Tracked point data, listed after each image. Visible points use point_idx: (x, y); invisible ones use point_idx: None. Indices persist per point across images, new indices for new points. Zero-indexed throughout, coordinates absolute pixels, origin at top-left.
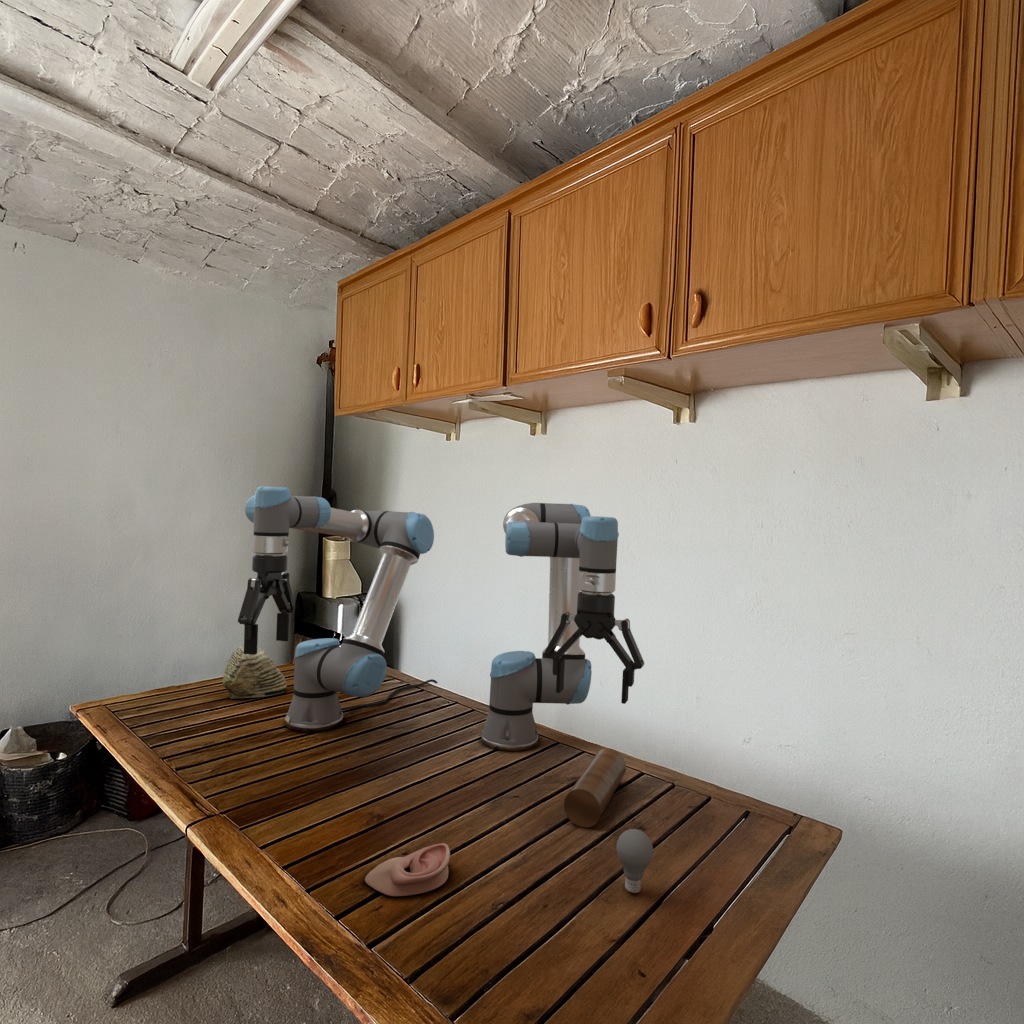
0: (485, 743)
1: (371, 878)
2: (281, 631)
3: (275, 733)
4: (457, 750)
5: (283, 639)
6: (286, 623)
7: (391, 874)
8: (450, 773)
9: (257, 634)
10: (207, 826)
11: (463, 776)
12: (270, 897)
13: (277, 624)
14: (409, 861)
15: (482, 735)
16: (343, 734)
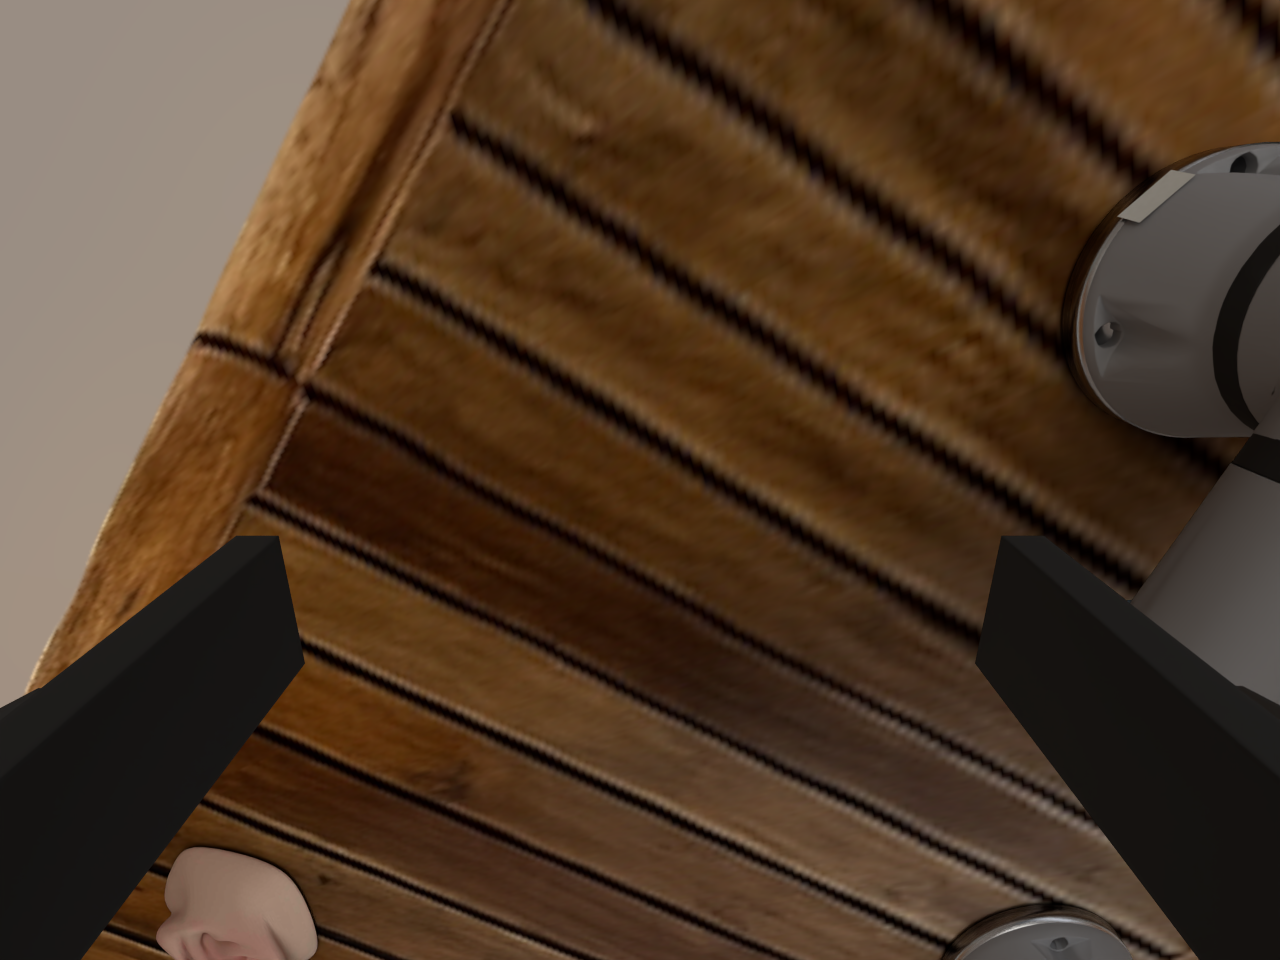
0: (981, 926)
1: (180, 869)
2: (1060, 673)
3: (1043, 177)
4: (930, 862)
5: (991, 638)
6: (1128, 842)
7: (169, 922)
8: (756, 877)
9: (148, 858)
10: (220, 397)
11: (743, 906)
12: None
13: (1149, 681)
14: (224, 940)
15: (1016, 931)
16: (1050, 482)
